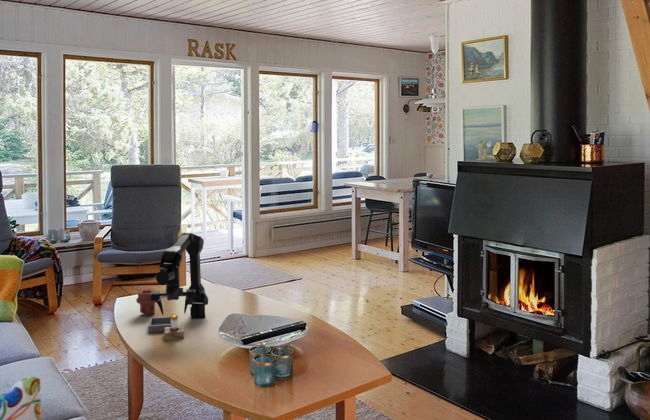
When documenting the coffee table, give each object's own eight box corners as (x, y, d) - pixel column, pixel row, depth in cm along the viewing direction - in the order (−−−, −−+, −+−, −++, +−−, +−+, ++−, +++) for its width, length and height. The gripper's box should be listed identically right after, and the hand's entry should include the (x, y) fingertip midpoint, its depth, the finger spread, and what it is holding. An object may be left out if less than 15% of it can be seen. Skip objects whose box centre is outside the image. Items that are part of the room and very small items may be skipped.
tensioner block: (183, 332, 264) (183, 325, 263) (183, 338, 256) (183, 331, 256) (165, 333, 262) (165, 327, 261) (164, 339, 254) (164, 333, 254)
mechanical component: (162, 312, 294) (152, 318, 284) (143, 310, 295) (133, 316, 286) (161, 287, 292) (151, 293, 282) (142, 286, 294) (132, 291, 284)
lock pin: (178, 334, 261) (177, 314, 260) (178, 337, 258) (177, 317, 257) (170, 335, 260) (169, 315, 259) (170, 337, 257) (169, 317, 256)
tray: (177, 322, 277) (176, 316, 277) (176, 330, 266) (176, 324, 266) (150, 324, 275) (150, 318, 274) (149, 332, 263) (148, 326, 263)
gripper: (149, 285, 246) (150, 321, 248) (195, 282, 250) (196, 318, 252) (150, 278, 256) (151, 313, 259) (194, 276, 261) (195, 310, 263)
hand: (173, 313), depth 258 cm, fingers open, 9 cm apart
